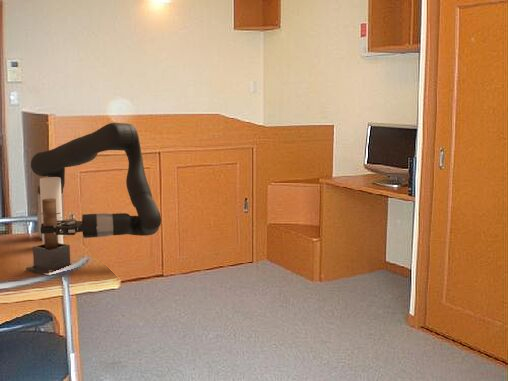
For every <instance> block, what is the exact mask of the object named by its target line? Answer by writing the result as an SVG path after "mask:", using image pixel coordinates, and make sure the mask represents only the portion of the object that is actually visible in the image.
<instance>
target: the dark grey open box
mask: <svg viewBox="0 0 508 381" xmlns="http://www.w3.org/2000/svg"><path fill="white" fill-rule="evenodd" d="M32 258H33V265H30V266H27V267H25V270H27V272H31V271H32V272H31V273H35V272H36V274H39V273H41V274H40V275H43V274H42V273H49V272H53V271H56V270H59V269H61V268H64V267H66V266H69V265H71V264H73V263H72V262H71V246H70V244H67V243H63V244H61V243H58V247H57V248H53V249H46V248H45V244H43V243H42V244H39V245H35V246H34V245H33V246H32Z"/></svg>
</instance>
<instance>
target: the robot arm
mask: <svg viewBox="0 0 508 381" xmlns="http://www.w3.org/2000/svg"><path fill="white" fill-rule="evenodd" d="M106 151H124V152H125V154H126V157H127V161H128V169H127V174H126V178H125V180H126V182H125V183H126V189H127V192H128V195H129V200H130V201H131V204H132V206H133V207H134V208H135V210H136V211H135V212H136V213H137V215H131V214H129V213H125V212H120V213H119V212H118V213H108V212H107V213H106V212H105V213H84V214H82V215H81V220H77V219H75V218H68V219H65V207H64V206H65V203H64V188H65V182H66V181H65V180H66V179H65V178H66V173H65V172H66V168H71V167H77V166H81V165H84V164H86V163H90V162H91V161H93V160H94V159H95V158H96V157H97V156H98V154H99V153H103V152H106ZM143 160H144V159H143V154H142V148H141V142H140V137H139V133H138V130H137V128H136V127H135V126H134V125H133V124H131V123H124V122H110V123H108V124H105V125H103V126H101V127H100V128H99V129H97V130H95V131H93V132H91V133H88V134H85V135H83V136H80V137H77V138H75V139H71V140H70V141H68V142H65V143H63V144H61V145H58V146H57V147H55V148H53V149H49V150H46V151H41V152H37V153H35V154H34V155H33V156H32V158H31V161H30V168H31V170H32V172H33V173H34V174H35V175H37V176H38V177H59V178H61V198H62V220H57V225H54V226H44V224H43V223H42V221H41V198H40V185H38V187H37V201H38V204H37V205H38V212H37V213H36V214H37V215H36V216H37V218H36V220H37V237H38V238H39V239H40V240H42V234H45V233H53V232H54V234H56V235H63V238H65V237H66V236H75V235H77V233H81V232H82V237H83V238H84V239H88V238H89V239H90V238H106V237H110V236H124V235H130V236H142V237H143V236H146V237H148V236H153V235H154V234H156V233H157V232H158V231H159V229H160V226H161V224H162V215H161V213H160V210H159V208H158V206H157V204H156V202H155V200H154V198H153V194H152V192H151V189H150V186H149V183H148V180H147V176H146V171H145V167H144V161H143ZM60 224H61V225H60ZM60 230H61V231H60Z"/></svg>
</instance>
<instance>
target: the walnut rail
mask: <svg viewBox="0 0 508 381" xmlns="http://www.w3.org/2000/svg"><path fill="white" fill-rule="evenodd" d="M42 206H43V224H44V226H54V225H57V214H56V199H43V200H42ZM44 241H45V248H46V249H53V248H57V247H58V235H56V234H54V232H53V233H45V234H44Z"/></svg>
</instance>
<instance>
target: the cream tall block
mask: <svg viewBox="0 0 508 381" xmlns="http://www.w3.org/2000/svg"><path fill="white" fill-rule="evenodd" d="M39 186H40V198H41V221H42V223H43V206H42V200H43V199H56V214H57V220H62V198H61V178H59V177H48V176H44V177H41V178H39ZM60 225H61V224H60ZM60 231H61V230H60ZM41 240H42V242H41V243H42V244H45V241H44V234H42V239H41ZM58 243H61V244H64V237H63V235H58Z"/></svg>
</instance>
